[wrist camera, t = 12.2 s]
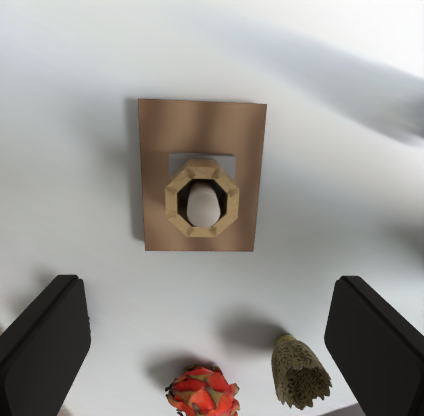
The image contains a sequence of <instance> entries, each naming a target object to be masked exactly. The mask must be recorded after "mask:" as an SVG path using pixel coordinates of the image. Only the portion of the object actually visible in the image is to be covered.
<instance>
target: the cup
mask: <svg viewBox="0 0 424 416" xmlns="http://www.w3.org/2000/svg"><path fill="white" fill-rule="evenodd" d="M271 365H272V372H273V378H274V384H275V389H276V395H277V397H278V400H279V401H281V402H282V404H283V405H284V403H285V401H286V402H287V404H288V406H289V407H290V408H291V407H292V404H293V405H295V407H296V408H298V409H300V410H303V409H304V408H305V407H306V406H308V407H313V402H312V400H313V399H316V398H317V396H318V397H320V398H321V399H322V400H324V395H325V396H330V390H329V386H330V387H332V384H331V382H330V380H331V378H330V376H329V374H328V373H327V372H326V370H325V369H324V367H323V366H322V364H321V363H320V361H319V360H318V358H317V357H316V355H315V354H314V353H313V351H312V350H311V349H310V348H309V347H308V346H307V345H306V344H304V343H303V342H301V341H298V340H296V338H294V337H293V336H291V335H282V336H280V337H279V338H278V339H277V340H276V342H275V349H274V351H273V354H272V359H271ZM329 379H330V380H329Z"/></svg>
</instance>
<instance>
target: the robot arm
mask: <svg viewBox="0 0 424 416" xmlns="http://www.w3.org/2000/svg"><path fill="white" fill-rule="evenodd" d="M324 341H325V345H326V347H327V349H328V351H329V353H330V354H331V356H332V358H333V360H334V361H335V363H336V365H337V366H338V368H339V370H340V372H341V373H342V375H343V377H344V379H345V380H346V382H347V384H348V385H349V387H350V389H351V391H352V392H353V394H354V396H355V398H356V399H357V401H358V403H359V404H360V406H361V408H362V410H363V411H364V413H365V415H366V416H424V336H423V335H422V334H421V333H420V332H419V331H418V330H417V329H415V328H414V327H413V326H412V325H411V324H410V323H409V322H408V321H407V320H406V319H405V318H404V317H403V316H402V315H400V314H399V313H398V312H397V311H396V310H395V309H394V308H393V307H392V306H391V305H390V304H389V303H388V302H387V301H385V300H384V299H383V298H382V297H381V296H380V295H379V294H378V293H377V292H376V291H375V290H374V289H373V288H371V287H370V286H369V285H368V284H367V283H366V282H365V281H364V280H363V279H362V278H361V277H359V276H341V277H340V279H339V280H337V281H336V283H335V287H334V292H333V297H332V301H331V306H330V311H329V316H328V321H327V325H326V330H325V335H324ZM90 344H91V335H90V328H89V320H88V312H87V305H86V297H85V290H84V283H83V280H82V279H79V278H78V276H77V275H58V276H57V277H56V278H55V279H54V280H53V281H52V282H51V283H50V284H49V285H48V286H47V287H46V288H45V289H44V290H43V291H42V292H41V293H40V294H39V296H38V297H37V298H36V299H35V300H34V301H33V302H32V303H31V304H30V305H29V306H28V307H27V308H26V309H25V310H24V311H23V312H22V313H21V315H20V316H19V317H18V318H17V319H16V320H15V321H14V322H13V323H12V324H11V325H10V326H9V327H8V328H7V329H6V330H5V331H4V332H3V334H2V335H1V336H0V416H57V414H58V412H59V410H60V408H61V406H62V404H63V402H64V400H65V398H66V396H67V394H68V392H69V390H70V388H71V386H72V384H73V381H74V379H75V377H76V375H77V373H78V371H79V369H80V367H81V365H82V363H83V361H84V359H85V357H86V355H87V353H88V351H89V348H90Z"/></svg>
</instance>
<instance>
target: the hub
mask: <svg viewBox="0 0 424 416" xmlns="http://www.w3.org/2000/svg"><path fill="white" fill-rule="evenodd" d="M192 178H193V179H214V180H215V181H216V182H217V183H218V184H219V185H220V186H221V187H222V194H221V198H220V199H219V200H218V204H219V208H220V216H219V219H218V220H217V222H216V223H215V224H214V225H212V226H210V227H207V228H200V227H197V226H195V225H193V224H192V223H191V222H190V221H189V219H188V217H187V206H188V203H187V202H186V201H185V200H184V199H183V198H182V197H181V189H182V188H183V187H184V186H185V185H186V184H187V183H188V182H189V181H190V180H191V179H192ZM239 190H240V189H239V188H238V186H237V185H236V183H235V182H234V180H233V179H232V177H231V176H230V175H229V174H228V173H227V172H226V171H225V170H224V169H223V168H222V167H221V166H220V164H219V163H218V162H217V161H216V160H215V159H188V160H187V161H186V162H185V163H184V164H183V165H182V166H181V167H180V168H179V169H178V170H177V171H176V172H175V173H174V174H173V175H172V176H171V178H170V179H169V181H168V183H167V185H166V187H165V208H166V218H167V219H168V220H169V221H170V222H171V223H172V224H174V225H175V226H176V227H177V228H178V229H179V230H180V231H181V232H182V233H183V234H184V235H185V236H186V237H217V236H218V235H219V234H220V233H221V232H222V231H224V230H225V229H226V228H227V227H228V226H229V225H230V224H232V223H233V222H234V221H235V220H236V219H238V204H239Z"/></svg>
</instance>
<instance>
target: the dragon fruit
mask: <svg viewBox="0 0 424 416" xmlns="http://www.w3.org/2000/svg"><path fill="white" fill-rule="evenodd" d="M213 369H214V372H213V371H211V370H208V369H205V368H204V367H202V366H198V365H195V366H190V367H187V368H185V369H184V370H187V371H189V372H186V373H184V374H183V375H182V376H181V377H180V378H177V379H176V378H175V379H174V382H172V384H170V386H169V387H167V388H165V391H168V390H169V393H168V395H167V394H166V395H165V396H166V397H167V399H168V402H169V403H170V404H171V405H172V406H173V407H176V408H178V409H176V410H177V411H178V412H177V413H178V414H179V415H180V416H183V414H182V413H181V412H182V411H184V412H185V413H186V416H238V414H237V411H236V410H238V411H239V410H240V405H239V402H238V401H237V400H236V399H234V396H235V395H236V394H237V393H238V391H239V387H238V386H237V384H236V383H235V384H231V385H229V384H228V383H227V381H226V380H225V378H224V376H223V373H222V371H221V370H220V368H219V367H218V366H215V367H214V368H213ZM172 387H173V388H172Z"/></svg>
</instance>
